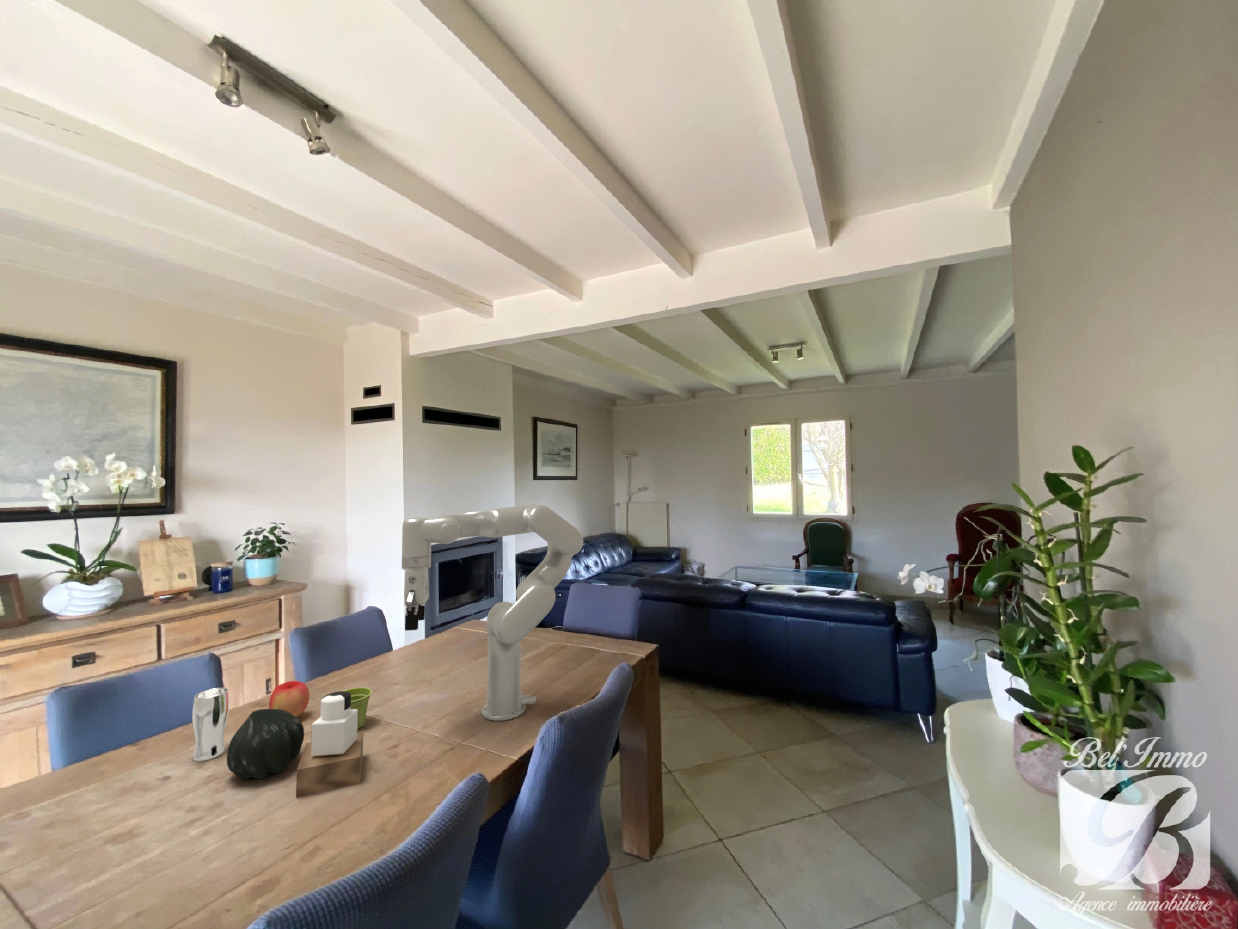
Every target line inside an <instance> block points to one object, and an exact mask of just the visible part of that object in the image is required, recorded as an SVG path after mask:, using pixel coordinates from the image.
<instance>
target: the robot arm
mask: <svg viewBox="0 0 1238 929" xmlns="http://www.w3.org/2000/svg"><path fill="white" fill-rule="evenodd" d="M401 529H402V532H401V533H402V534H401V535H402V536H401V570H404V571H405V572H404V591H403V598H404V599H403V601H404V602H403V603H404V606H405V607H406V608H405V614H404V631H406V632H407V631H417V630H419V621H424V620H425V619H426V617H425V616H426V605H425V604H426V603H427V601H428V600H429V598H430V590H429V589H430V586H429V568H431V567H432V544H444V545H449V544H452V543H454V542H456V541H457V540H458V539H463V538H471V537H472V538H474V537H485V538H501V537H509V536H514V535H524V534H529V533H535V534H537V535H538V536H539V537H540V538H541V539H543V540H544V541H546V544H547V551H546V555H545V557H544V558H543V560H542V561H541V562H540V563H539V564H538V565H537V566H536V567H535V569H534V570H532V571H531V573H529V574H528V575H527V576H526V577H525V578H524V579H523V580H522V581H521V582H520V583H519V584H518V586H517V588H516V590H515V597H516V601H515V602H513V603H512V602H509V601H500V602H497V603H495V604H494V605H493V606H492V607H491V609H489V611H488V613H487V617H486V632H487V691H486V692H487V694H486V695H487V696H486V700H487V702H486V704H484V705H483V707H482V708H481V715H482V717H483V718H485V719H487V720H490V721H495V722H496V721H497V722H498V721H507V720H513V719H515V718H517V717H520V716H521V715H523V714H524V713H525V711H526V705H535V704H536V702H537V701H536V700H537V699H536V698H537V697H536V696H532V694H522V689H521V666H522V665H521V662H522V660H521V658H522V657H521V654H522V653H521V652H522V651H521V650H522V648H521V645H522V644H521V642H522V640H523V639H525V638H526V637H527V636H528V635H529V634H530V633H531V632H532V631H533V630H534V629H535V628H536V627H537V626H538V625H539V624H540V623H541V622H542V620H544V618H545V617H546V616H547V615H548V614H549V613H550V612H551V610H552V608H553V607H554V605H555V602H556V592H555V588H556V587H557V586H558V585H559V584H560V583H561V582H562V580H564V578H565V576H566V575H567V574H568V572H569V570H570V567H571V564H572V557H573V556H574V555H576V554H578V553H579V552H580V551H581V549H582V548H583V545H584V537H583V534H582V532H580V530H579V529H578V528H576V527H575V526H574V525H573V524H571V523H570V522H569V521H567V520H565V518H564V517H563V516H561V515H559V514H558V513H557V512H555V511H554V510H553V509H551V508H550V507H548V506H546V505H544V504H543V505H542V504H529V505H528V504H525V505H517V506H510V507H500V508H490V509H485V510H479V511H472V512H463V513H462V512H461V513H451V514H444V515H440V516H437V517H436V518H428V517H409V518H406V519H404V520H403V522H402V528H401ZM519 715H520V716H519ZM512 718H513V719H512Z"/></svg>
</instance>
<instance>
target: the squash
mask: <svg viewBox="0 0 1238 929" xmlns="http://www.w3.org/2000/svg"><path fill="white" fill-rule="evenodd" d="M236 730H237V731H236V732H235V733H234V735H233V736H232V737H231V739H230V742H229V744H228V747H227V752H226V766H227V768H228V770H229V771H230V772H231V773H233V775H235V776H236V777H237V778H238V779H241V780H242V779H251V778H255V779H260V780H261V779H264V778H266V777H267V776H268V775H269V774H270V773H272V774H279V773H281V772H283V770H285V768H286V767H287V765H288V763H291V762H293V761H294V760H295V759H297V757H298V756H299V755H300V752H301V749H302V746H303V744H304V743H303V742H304V741H305V740H304V739H305V727H304V724H302V722H301V719H299V718H298V717H295V716H293V715H292V714H291V713H289V712H287V711H284V710H281V709H269V708H261V709H257V710H253V711H252V712H251V713H250V714H249V715H248V716H247V718H246V719H245V721H244V722H243V724H242V725H241V726H240V727H239V728H238V729H236Z"/></svg>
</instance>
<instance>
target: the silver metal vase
mask: <svg viewBox="0 0 1238 929" xmlns="http://www.w3.org/2000/svg"><path fill="white" fill-rule="evenodd" d="M192 705H193V706H192V713H191V714H192V715H191V717H192V727H193V728H192V729H193V733H194V737H195V738H194V739H195V747H194V751H193V755H192V760H193V761H194V762H204V761H205V762H206V761H210V760H213V759H216V758H217V757H219V756H221V755H222V754H224V753H225V751H226V746H225V742H224V741H225V739H224V734H225V731H226V730H225V729H226V726H227V721H228V717H229V712H230V711H229V709H230V695H229V688H227V687H216V688H211V689H205V690H202V691H201V692H198V693H197V694H195V695H194V698H193V704H192Z"/></svg>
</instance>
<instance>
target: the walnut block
mask: <svg viewBox="0 0 1238 929" xmlns="http://www.w3.org/2000/svg"><path fill="white" fill-rule="evenodd" d="M363 749H364V732H359V733H358V732H357V740H356V741H355V742H354V743H353V744H352V745H351V746H350V747H349V748H348V749H347V751H346V752H345V753H344V754H337V755H324V756H311V741H310V742H306V743H305V745H304V748H303V750H302V753H301V756H300V759H299V762H298V765H297V769H296V779H295V780H296V782H295V784H296V785H295V798H299V797H305V796H308V795H314V794H317V793H322V792H326V791H330V790H334V789H338V788H343V787H347V786H352V785H356V784H359V783H361V782H360V781H361V774H362V765H363V754H364V752H363V751H364V750H363Z"/></svg>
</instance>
